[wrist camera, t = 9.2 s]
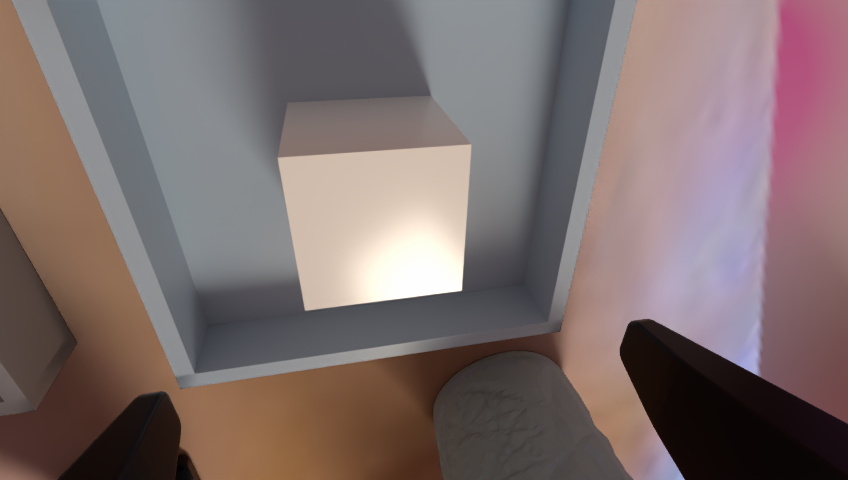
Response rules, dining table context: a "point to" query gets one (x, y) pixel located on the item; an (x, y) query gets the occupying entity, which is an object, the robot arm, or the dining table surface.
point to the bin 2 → (260, 175)
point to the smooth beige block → (374, 198)
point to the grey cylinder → (519, 424)
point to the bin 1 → (27, 330)
